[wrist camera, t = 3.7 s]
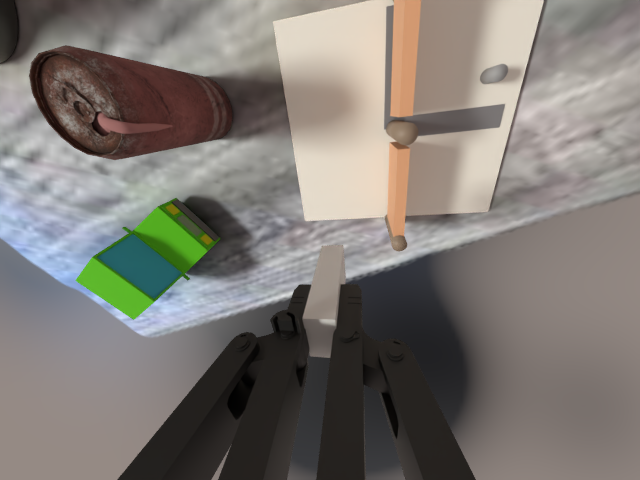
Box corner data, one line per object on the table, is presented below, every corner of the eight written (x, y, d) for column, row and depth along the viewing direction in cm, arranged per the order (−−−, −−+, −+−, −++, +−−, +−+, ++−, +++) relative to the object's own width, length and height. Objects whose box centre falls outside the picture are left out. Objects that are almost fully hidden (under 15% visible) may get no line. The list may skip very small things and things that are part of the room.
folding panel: (386, 141, 24) (396, 151, 18) (400, 140, 24) (414, 149, 18) (384, 223, 28) (392, 251, 23) (396, 222, 28) (406, 250, 23)
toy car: (233, 239, 34) (191, 282, 25) (187, 277, 39) (140, 324, 31) (176, 186, 31) (107, 215, 22) (135, 236, 36) (67, 275, 28)
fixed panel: (389, -18, 18) (406, -81, 12) (410, -22, 18) (437, -89, 12) (385, 137, 24) (396, 146, 18) (401, 135, 24) (417, 144, 18)
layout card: (274, 22, 21) (265, 13, 19) (550, -37, 17) (577, -57, 15) (305, 219, 30) (302, 227, 28) (486, 210, 27) (497, 218, 24)
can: (237, 144, 27) (140, 172, 15) (186, 133, 27) (49, 151, 15) (237, 83, 24) (114, 55, 12) (179, 71, 24) (-2, 30, 12)
